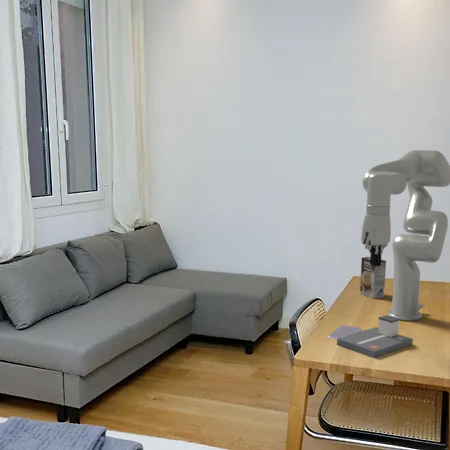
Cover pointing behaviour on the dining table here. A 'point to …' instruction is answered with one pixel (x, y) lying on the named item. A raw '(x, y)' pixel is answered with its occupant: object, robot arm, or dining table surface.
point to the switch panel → (373, 342)
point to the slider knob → (388, 325)
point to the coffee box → (372, 278)
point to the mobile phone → (344, 331)
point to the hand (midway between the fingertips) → (375, 265)
